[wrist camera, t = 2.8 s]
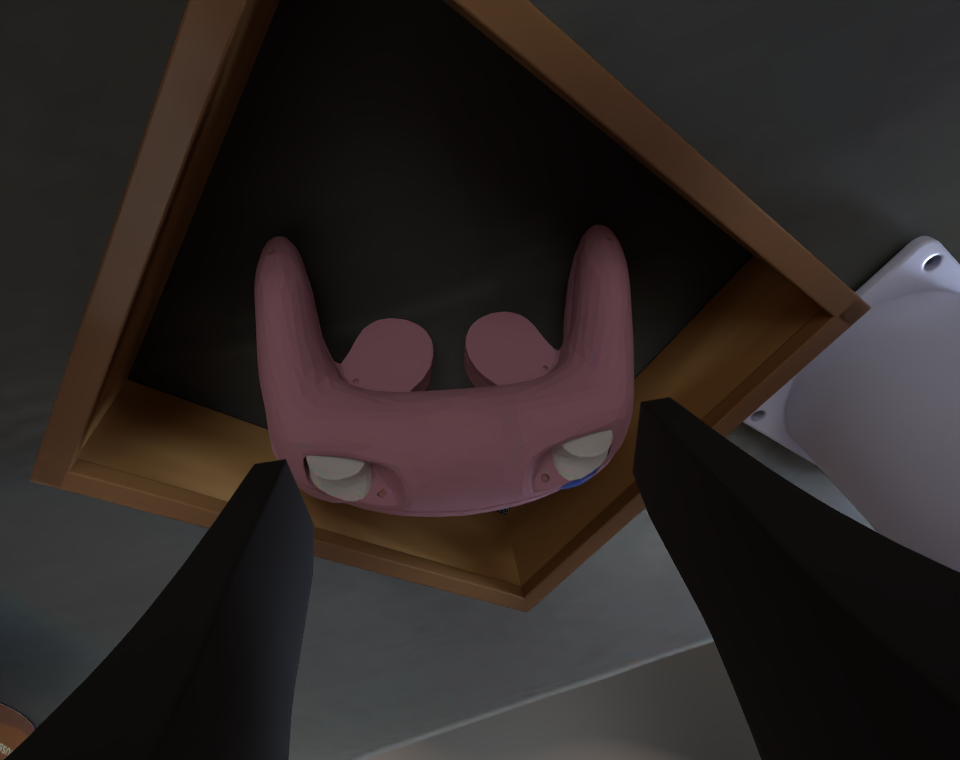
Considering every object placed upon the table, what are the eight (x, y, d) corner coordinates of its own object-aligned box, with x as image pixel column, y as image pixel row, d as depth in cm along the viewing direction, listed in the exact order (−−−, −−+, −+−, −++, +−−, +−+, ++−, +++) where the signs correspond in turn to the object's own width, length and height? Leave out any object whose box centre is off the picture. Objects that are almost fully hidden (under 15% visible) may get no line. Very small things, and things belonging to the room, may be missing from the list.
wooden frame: (781, 248, 16) (873, 308, 13) (508, 527, 22) (527, 613, 19) (303, -165, 10) (265, -235, 7) (97, 385, 16) (28, 481, 13)
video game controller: (287, 322, 17) (276, 546, 14) (242, 218, 13) (212, 501, 10) (586, 305, 18) (636, 508, 15) (628, 206, 14) (710, 454, 11)
